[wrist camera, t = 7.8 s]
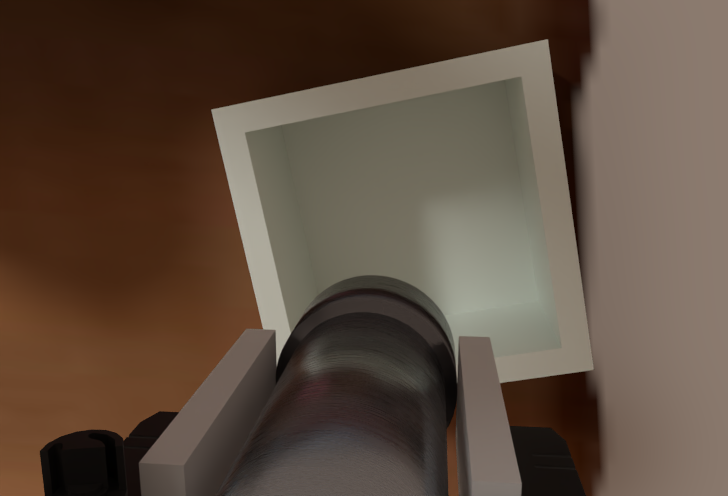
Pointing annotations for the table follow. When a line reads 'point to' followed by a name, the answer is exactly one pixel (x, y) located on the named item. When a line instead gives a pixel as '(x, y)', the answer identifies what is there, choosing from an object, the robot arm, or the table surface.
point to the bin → (419, 201)
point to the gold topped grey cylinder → (356, 399)
